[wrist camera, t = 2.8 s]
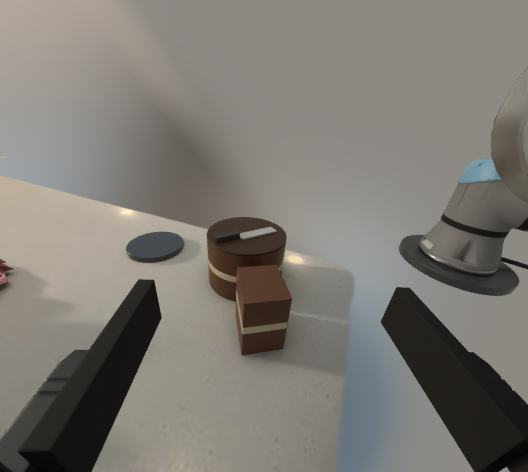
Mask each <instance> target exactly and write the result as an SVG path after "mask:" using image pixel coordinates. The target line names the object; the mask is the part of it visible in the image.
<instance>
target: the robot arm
mask: <svg viewBox="0 0 528 472" xmlns="http://www.w3.org/2000/svg"><path fill="white" fill-rule="evenodd" d="M491 156H492V159H480V160H476V161H473V162H471V163H470V164H469V165H468V166H467V168H466V169H465V171H464V173H463V175H462V176H461V178H460V179H459V180H458V185H457V187H456V189H455V191H454V193H453V195H452V197H451V199H450V201H449V203H448V205H447V207H446V209H445V211H444V213H443V215H442V217H441V219H440V221H439V222H438V223H437V224H436V225H435V226H434V227H433V228H432V229H431V230H430V231H429V232H428V233H427V234H426V235H425V236H424V237H423V238H422V239H421V241H420V243H419V245H418V249H419V251H420V252H421V253H422V254H423V255H424V256H425V257H427V258H428V259H430V260H431V261H433V262H435V263H437V264H439V265H441V266H443V267H445V268H448V269H450V270H453V271H456V272H459V273H463V274H467V275H472V276H479V277H488V276H492V275H494V274H495V272H496V271H497V270H498V268H499V265H500V261H502V262H506V263H509V264H513V265H516V266H519V267H522V268H525V269H528V265H526V264H523V263H520V262H517V261H513V260H510V259H506V258H503V257H501V255H502V247H503V242H504V239H505V237H506V236H507V234H508V233H509V231H510V230H511V229H512V228H514V229H519V230H522V231H527V232H528V67H527V68H526V69H525V71H524V72H523V73H522V74H521V76H520V77H519V78H518V79H517V81H516V82H515V83H514V85H513V86H512V88H511V89H510V90H509V92H508V94H507V96H506V97H505V99H504V101H503V102H502V104H501V106H500V108H499V111H498V113H497V116H496V118H495V121H494V125H493V129H492V134H491ZM161 318H162V317H161V312H160V307H159V302H158V297H157V292H156V287H155V282H154V280H142V279H139V280H138V281H137V282H136V284H135V285H134V287H133V288H132V290H131V291H130V292H129V294H128V295H127V297H126V298H125V299H124V301H123V302H122V304H121V305H120V307H119V308H118V309H117V311H116V312H115V314H114V315H113V317H112V318H111V319H110V321H109V322H108V324H107V325H106V326H105V328H104V329H103V331H102V332H101V334H100V335H99V336H98V338H97V339H96V341H95V342H94V343H93V345H92V346H91V348H90V349H89V350H75V351H73V352H72V353H71V354H70V355H68V356H67V357H66V358H65V359H64V360H62V361H61V362H60V363H59V364H58V365H57V367H56V368H55V369H54V370H53V372H52V373H51V374H50V375H49V377H48V378H47V381H45V382H44V383H43V384H42V386H41V387H40V388H39V389H38V391H37V394H36V395H34V396H33V397H32V398H31V400H30V401H29V402H28V403H27V405H26V406H25V407H24V408H23V410H22V411H21V412H20V414H19V415H18V416H17V417H16V419H15V420H14V421H13V422H12V424H11V425H10V426H9V428H8V429H7V430H6V431H5V433H4V434H3V435H2V436H1V438H0V472H92V470H93V467H94V465H95V463H96V461H97V459H98V456H99V454H100V452H101V450H102V448H103V445H104V443H105V441H106V439H107V437H108V434H109V432H110V430H111V428H112V426H113V423H114V421H115V419H116V417H117V415H118V412H119V410H120V408H121V406H122V404H123V401H124V399H125V397H126V395H127V393H128V390H129V388H130V386H131V384H132V382H133V379H134V377H135V375H136V373H137V371H138V368H139V366H140V364H141V362H142V360H143V358H144V355H145V353H146V351H147V349H148V347H149V344H150V342H151V340H152V338H153V336H154V333H155V331H156V329H157V327H158V325H159V322H160V320H161ZM381 323H382V325H383V326H384V328H385V330H386V331H387V333H388V334H389V336H390V337H391V339H392V341H393V342H394V344H395V346H396V347H397V349H398V350H399V352H400V354H401V355H402V357H403V358H404V360H405V361H406V363H407V365H408V366H409V368H410V370H411V371H412V373H413V374H414V376H415V377H416V379H417V381H418V382H419V384H420V385H421V387H422V389H423V390H424V392H425V393H426V395H427V397H428V398H429V400H430V402H431V403H432V405H433V406H434V408H435V410H436V411H437V413H438V414H439V416H440V417H441V419H442V421H443V422H444V424H445V425H446V427H447V429H448V430H449V432H450V433H451V435H452V437H453V438H454V440H455V441H456V443H457V445H458V446H459V448H460V449H461V451H462V453H463V454H464V456H465V457H466V459H467V461H468V462H469V464H470V465H471V467H472V469H473V470H474V472H499V471H500V470H502V469H503V468H505V467H507V468H508V469H509V471H510V472H528V404H526V402H525V401H524V400H523V399H522V398H521V397H520V396H519V395H518V394H517V393H516V392H515V391H513V390H512V388H511V387H510V386H509V385H508V384H507V383H506V381H505V380H502V379H501V376H500V375H499V374H498V373H497V372H496V371H495V370H494V369H493V368H492V367H491V366H490V365H489V364H488V363H487V362H485V361H484V360H483V359H482V358H480V357H479V356H477V355H476V354H475V353H474V352H468V351H467V350H466V349H465V348H464V346H463V345H462V344H461V343H460V342H459V341H458V340H457V339H456V338H455V337H454V336H453V335H452V333H450V331H449V330H448V329H447V328H446V327H445V326H444V325H443V324H442V323H441V322H440V320H439V319H438V318H437V317H436V316H435V315H434V314H433V313H432V312H431V311H430V309H429V308H427V306H426V305H425V304H424V303H423V302H422V301H421V300H420V299H419V298H418V296H417V295H416V294H415V293H414V292H413V291H412V290H411V289H410V288H401V287H397V288H396V290H395V292H394V294H393V296H392V298H391V300H390V303H389V305H388V307H387V309H386V311H385V313H384V316H383V318H382V320H381Z"/></svg>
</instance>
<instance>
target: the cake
mask: <svg viewBox="0 0 528 472" xmlns="http://www.w3.org/2000/svg"><path fill="white" fill-rule="evenodd" d="M285 244H286V233H285V232H284V230H283V229H282V228H281V227H279V226H278V225H276V224H274V223H272V222H270V221H266V220H263V219H257V218H250V217H237V218H230V219H225V220H222V221H219V222H217V223H215V224H214V225H212V226H211V227H210V228H209V229H208V232H207V247H208V266H209V281H210V285H211V287H212V288H213V290H214V291H215V292H216V293H217V294H219V295H220V296H222V297H224V298H226V299H229V300H232V301H236V285H237V268H238V267H252V266H266V265H277V267H278V269H279V271H280V274H281V273H282V266H283V259H284V252H285Z"/></svg>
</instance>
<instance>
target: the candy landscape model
mask: <svg viewBox="0 0 528 472" xmlns="http://www.w3.org/2000/svg"><path fill="white" fill-rule="evenodd" d="M4 262H5V261H3V260H1V259H0V285H1V284H3V283H5V282H6V281H7V280H8V279H7V276H6V275H5V274H2V272H6V271H9V270H12V269H13V268H10V267H8V266H6V265H4V264H2V263H4Z"/></svg>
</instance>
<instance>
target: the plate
mask: <svg viewBox="0 0 528 472" xmlns="http://www.w3.org/2000/svg"><path fill="white" fill-rule="evenodd" d="M182 248H183V239H182V238H181V236H179V235H177V234H175V233H171V232H153V233H148V234H144V235H141V236H138V237H136V238H134V239H133V240H131V241H130V242H129V243H128V245H127V247H126V251H127V254H128V256H129V257H130V258H131V259H133V260H135V261H139V262H157V261H162V260H166V259H168V258H171V257H173V256H175V255H177V254H178V253H179V252H180V251H181V250H182Z"/></svg>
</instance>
